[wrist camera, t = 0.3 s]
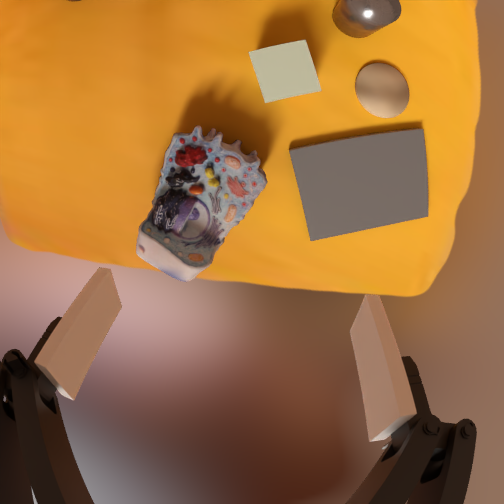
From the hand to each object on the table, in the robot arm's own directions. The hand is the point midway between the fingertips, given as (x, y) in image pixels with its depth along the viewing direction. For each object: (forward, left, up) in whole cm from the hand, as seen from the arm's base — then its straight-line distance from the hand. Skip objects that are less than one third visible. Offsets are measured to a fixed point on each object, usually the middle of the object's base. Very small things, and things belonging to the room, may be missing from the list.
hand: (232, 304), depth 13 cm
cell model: (+2, -9, -28) cm, 29 cm away
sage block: (-11, +6, -27) cm, 30 cm away
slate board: (+6, +14, -27) cm, 31 cm away
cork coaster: (-7, +19, -28) cm, 35 cm away
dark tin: (-18, +18, -27) cm, 38 cm away
